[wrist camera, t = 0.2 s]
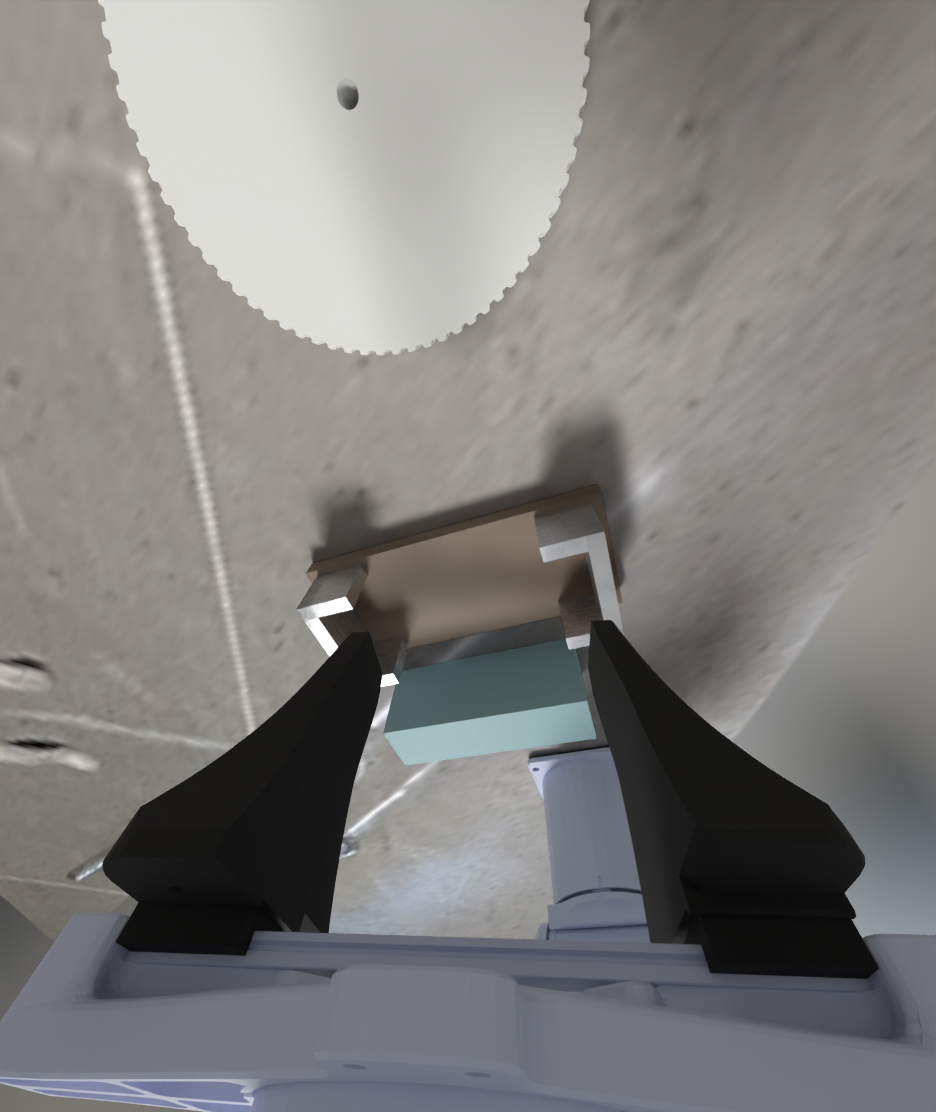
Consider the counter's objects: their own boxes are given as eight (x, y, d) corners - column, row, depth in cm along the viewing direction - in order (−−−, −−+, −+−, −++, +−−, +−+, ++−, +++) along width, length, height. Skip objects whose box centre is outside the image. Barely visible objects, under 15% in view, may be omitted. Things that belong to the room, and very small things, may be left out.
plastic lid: (669, 16, 13) (704, -39, 11) (442, 410, 20) (436, 425, 17) (215, -479, 9) (133, -706, 7) (129, 208, 16) (73, 196, 14)
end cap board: (617, 591, 24) (622, 602, 23) (365, 647, 28) (361, 658, 27) (597, 484, 21) (602, 492, 20) (312, 563, 24) (305, 573, 23)
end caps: (610, 601, 23) (624, 638, 21) (367, 653, 27) (354, 691, 24) (590, 501, 20) (604, 531, 18) (317, 575, 23) (296, 609, 21)
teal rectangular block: (581, 671, 28) (596, 738, 24) (417, 700, 31) (405, 765, 26) (572, 635, 26) (587, 700, 22) (399, 668, 29) (383, 733, 25)
